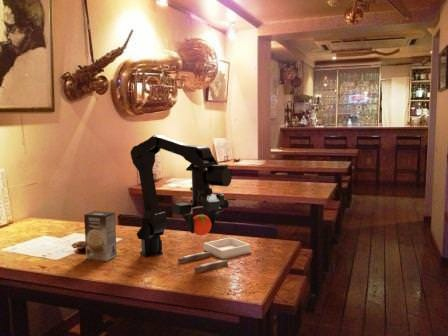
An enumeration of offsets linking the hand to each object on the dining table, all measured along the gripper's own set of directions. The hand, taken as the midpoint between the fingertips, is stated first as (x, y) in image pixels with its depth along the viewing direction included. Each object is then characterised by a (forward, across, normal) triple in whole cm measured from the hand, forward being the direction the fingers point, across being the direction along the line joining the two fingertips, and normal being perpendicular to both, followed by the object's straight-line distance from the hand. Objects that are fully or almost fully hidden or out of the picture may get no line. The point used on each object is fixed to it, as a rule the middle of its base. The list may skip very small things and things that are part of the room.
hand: (202, 231), depth 133 cm
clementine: (+2, 0, 0) cm, 2 cm away
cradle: (+11, 0, 0) cm, 11 cm away
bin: (+11, +14, +6) cm, 19 cm away
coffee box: (+11, -25, +28) cm, 39 cm away
